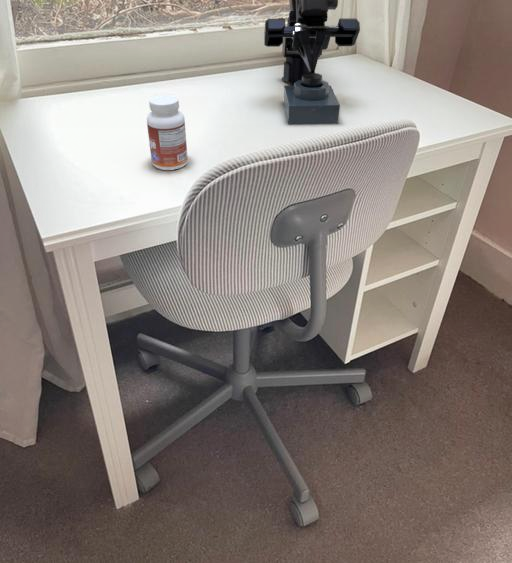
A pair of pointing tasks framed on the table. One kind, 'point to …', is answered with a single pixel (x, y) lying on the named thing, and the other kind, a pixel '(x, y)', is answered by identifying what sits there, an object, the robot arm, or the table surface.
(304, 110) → the push button box
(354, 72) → the table surface
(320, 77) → the black round button
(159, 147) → the pill bottle
